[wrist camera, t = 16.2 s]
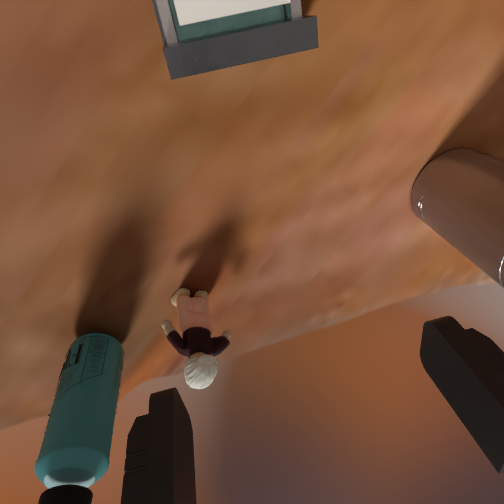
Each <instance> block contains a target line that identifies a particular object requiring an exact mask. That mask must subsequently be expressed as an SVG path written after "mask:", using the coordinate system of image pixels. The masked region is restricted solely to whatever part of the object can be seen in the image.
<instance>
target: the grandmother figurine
mask: <svg viewBox="0 0 504 504" xmlns="http://www.w3.org/2000/svg"><path fill="white" fill-rule="evenodd" d="M189 296H190V291H189V290H188V289H185V288H181V289H179V290H178V291H177V292H176V293H175V294H174V295H173V296H172V298H171V302H172V304H173V305H174V306H176V307H177V312H178V321H179V328H180V331H181V334H182V336H183V339H182V338H181V336H180V335H179V334H178V333H177V331H176V330H175V329H174V327H173V326H172V323H171V321H170V320H164V321H163V322H162V327H163V328H164V329H165V333H166V335H167V339H168V340H169V342H170V343H171V344H172V345H173V346H174V348H175V349H176V350H177V351H178V352H179V353H180V354H181V355H184V356H186V357H189V358H188V360H187V361H186V365H185V369H184V371H185V374H184V376H185V381H186V383H187V384H188V385H189V386H190V387H191V388H196V389H202V388H206V387H207V386H209V385H210V384H211V383H212V381H213V379H214V377H215V376H216V373H217V364H219V363H218V362H217V361H216V358H215V357H214V356H216V355H218V354H220V353H221V352H222V351H223V350H224V349H225V348H226V347H227V346H228V345H229V344H230V342H229V340H230V337H231V336H232V333H231V331H230V330H225V331H223V335H221V336H220V337H213V338H211V334H212V325H211V315H210V311H209V307H208V293H207V292H206V291H202V290H199V291H197V292H196V293H195V295H194V297H192V298H190V297H189Z"/></svg>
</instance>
